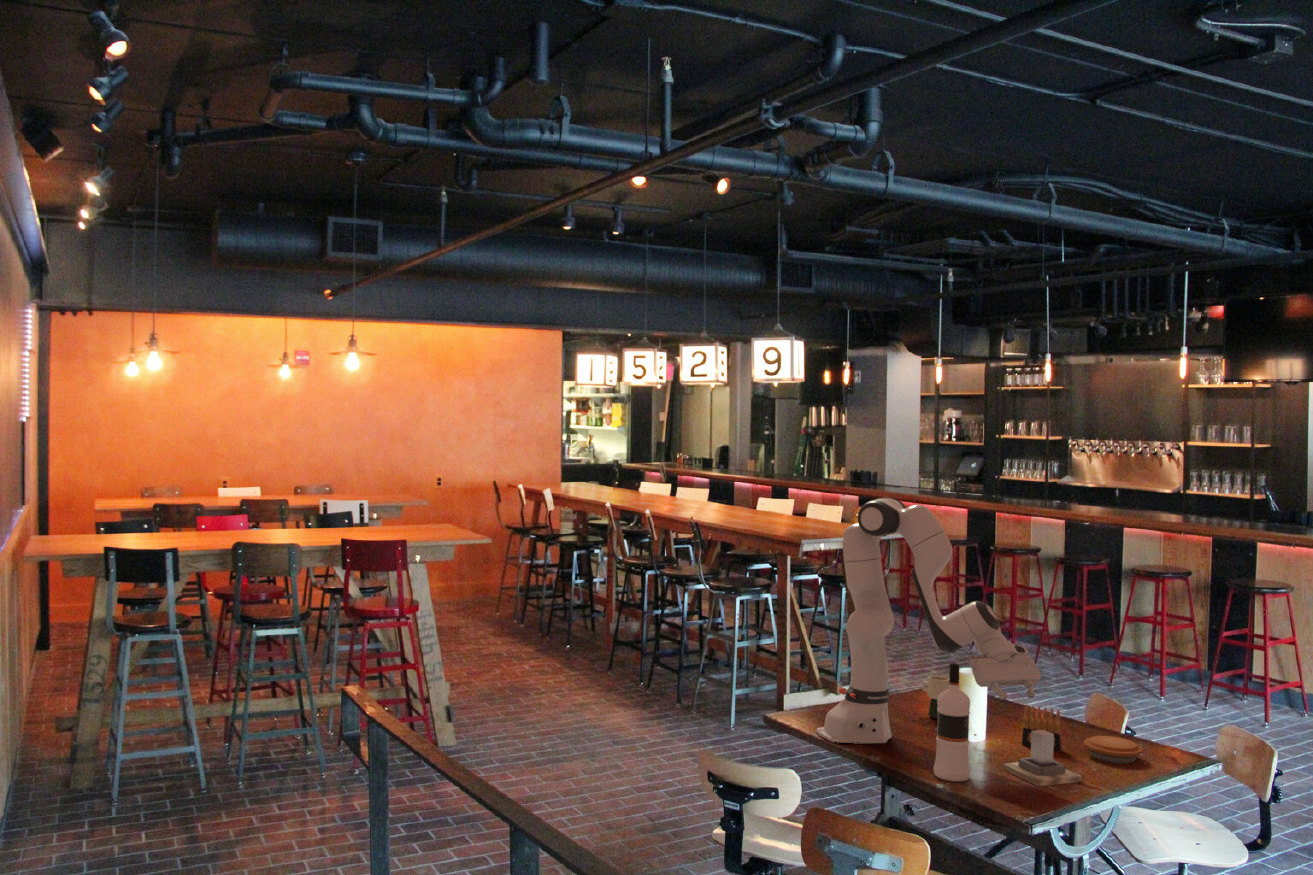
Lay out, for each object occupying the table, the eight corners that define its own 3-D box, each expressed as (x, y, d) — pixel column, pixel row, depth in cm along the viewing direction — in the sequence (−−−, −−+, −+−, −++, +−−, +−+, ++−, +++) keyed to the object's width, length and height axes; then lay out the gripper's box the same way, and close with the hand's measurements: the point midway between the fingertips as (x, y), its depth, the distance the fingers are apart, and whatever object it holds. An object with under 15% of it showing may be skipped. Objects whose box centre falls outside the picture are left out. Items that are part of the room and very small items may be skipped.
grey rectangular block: (1040, 772, 265) (1041, 734, 265) (1030, 767, 268) (1031, 730, 268) (1053, 771, 266) (1054, 733, 266) (1042, 766, 270) (1043, 729, 270)
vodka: (929, 770, 268) (932, 659, 268) (964, 771, 268) (967, 660, 268) (938, 782, 259) (941, 666, 259) (974, 783, 259) (977, 667, 259)
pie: (1136, 752, 291) (1136, 735, 291) (1148, 768, 276) (1148, 750, 276) (1079, 747, 295) (1080, 730, 295) (1088, 762, 280) (1088, 745, 280)
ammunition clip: (1021, 744, 295) (1022, 704, 295) (1023, 743, 297) (1024, 703, 297) (1060, 751, 289) (1061, 710, 289) (1061, 750, 291) (1062, 709, 291)
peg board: (1038, 786, 258) (1038, 772, 258) (1002, 769, 271) (1003, 756, 271) (1081, 781, 263) (1081, 768, 263) (1044, 765, 276) (1044, 752, 276)
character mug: (958, 718, 322) (959, 678, 322) (951, 723, 316) (952, 682, 316) (925, 712, 328) (926, 673, 328) (918, 717, 322) (919, 677, 322)
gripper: (971, 649, 280) (992, 693, 271) (1031, 647, 287) (1053, 690, 278) (961, 661, 284) (981, 705, 275) (1019, 659, 291) (1041, 701, 282)
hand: (1018, 697), depth 276 cm, fingers open, 8 cm apart
